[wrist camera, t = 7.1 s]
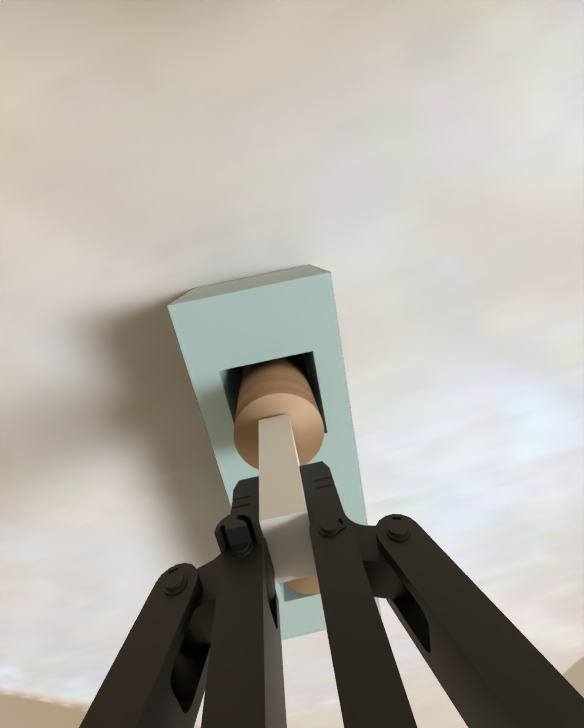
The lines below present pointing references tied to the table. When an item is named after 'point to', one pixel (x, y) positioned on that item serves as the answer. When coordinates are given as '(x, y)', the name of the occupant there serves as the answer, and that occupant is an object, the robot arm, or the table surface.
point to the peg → (277, 407)
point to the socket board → (262, 343)
